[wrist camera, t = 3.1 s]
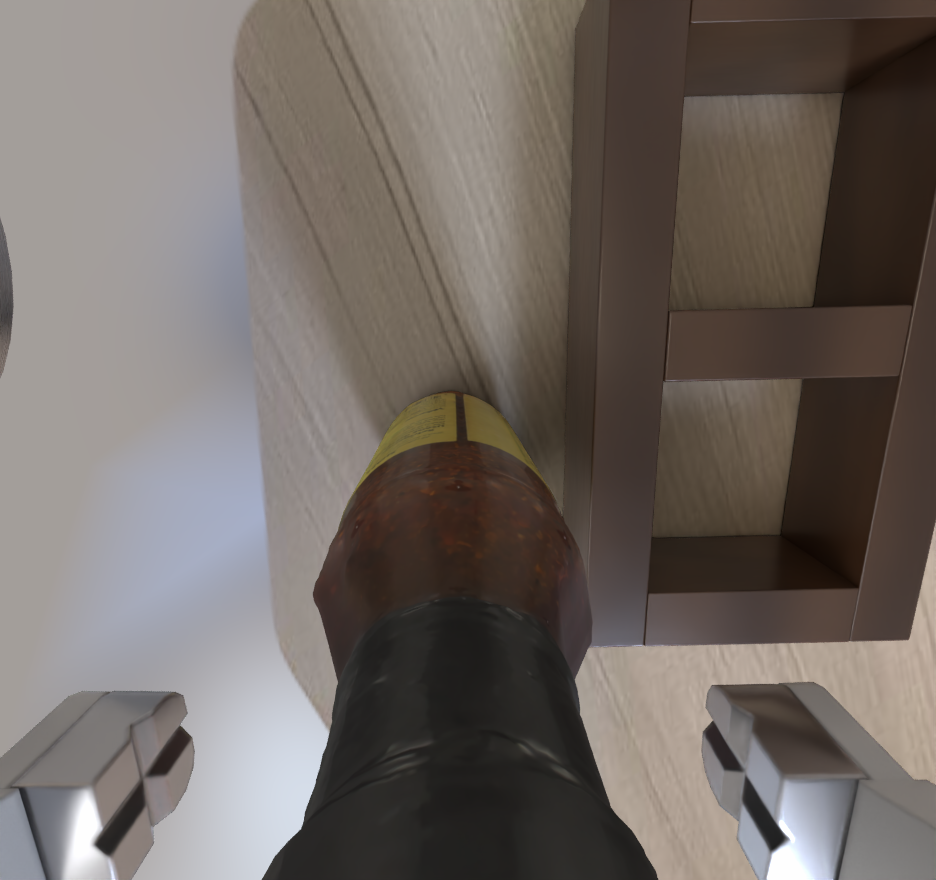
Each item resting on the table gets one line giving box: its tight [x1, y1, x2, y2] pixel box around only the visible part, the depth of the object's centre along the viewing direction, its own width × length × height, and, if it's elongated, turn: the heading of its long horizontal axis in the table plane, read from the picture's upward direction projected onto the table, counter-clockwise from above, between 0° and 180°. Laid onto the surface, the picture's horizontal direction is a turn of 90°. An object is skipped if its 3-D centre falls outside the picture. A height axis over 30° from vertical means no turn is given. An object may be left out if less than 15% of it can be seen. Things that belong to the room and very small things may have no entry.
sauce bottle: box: [262, 391, 658, 880], centre depth 13 cm, size 7×6×20 cm
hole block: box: [563, 0, 936, 647], centre depth 19 cm, size 14×24×5 cm, turn 1°
